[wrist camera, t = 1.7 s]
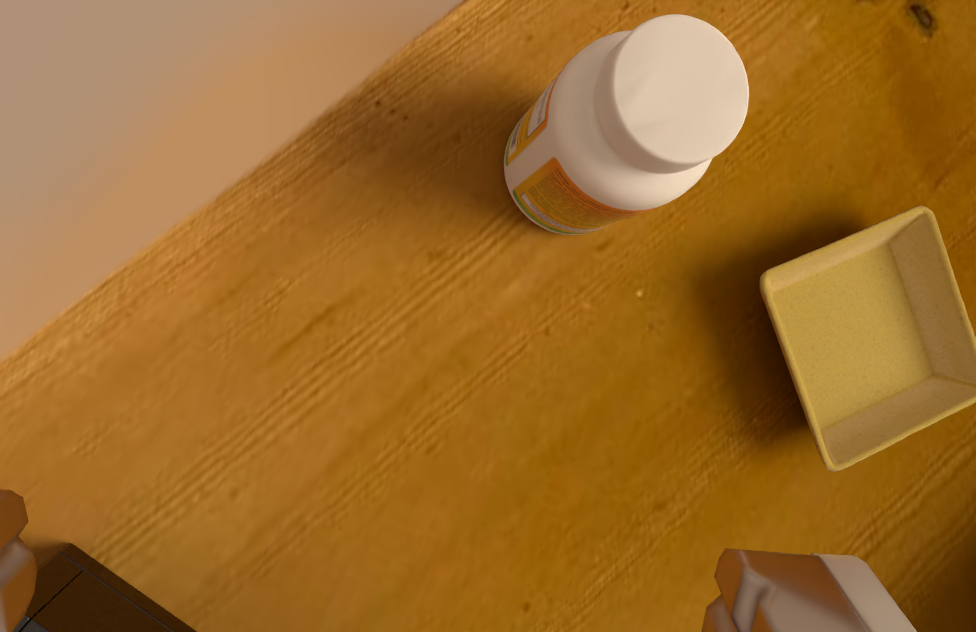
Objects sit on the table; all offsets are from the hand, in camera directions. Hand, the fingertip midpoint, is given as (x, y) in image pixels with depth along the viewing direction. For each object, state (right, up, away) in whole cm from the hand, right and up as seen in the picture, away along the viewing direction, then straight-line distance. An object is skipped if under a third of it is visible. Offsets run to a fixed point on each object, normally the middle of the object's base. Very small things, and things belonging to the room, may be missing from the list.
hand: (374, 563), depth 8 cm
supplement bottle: (+4, +9, +20) cm, 22 cm away
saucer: (+17, +2, +22) cm, 28 cm away
